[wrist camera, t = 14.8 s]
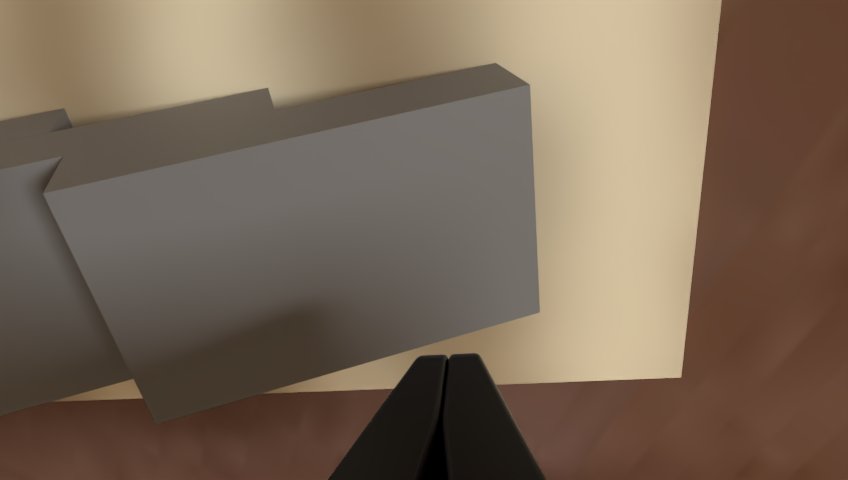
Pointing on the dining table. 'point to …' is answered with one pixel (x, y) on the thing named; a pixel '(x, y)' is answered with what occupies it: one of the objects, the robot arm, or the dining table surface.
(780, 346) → the dining table surface
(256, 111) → the domino
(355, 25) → the domino board
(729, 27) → the dining table surface
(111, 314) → the domino
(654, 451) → the dining table surface
